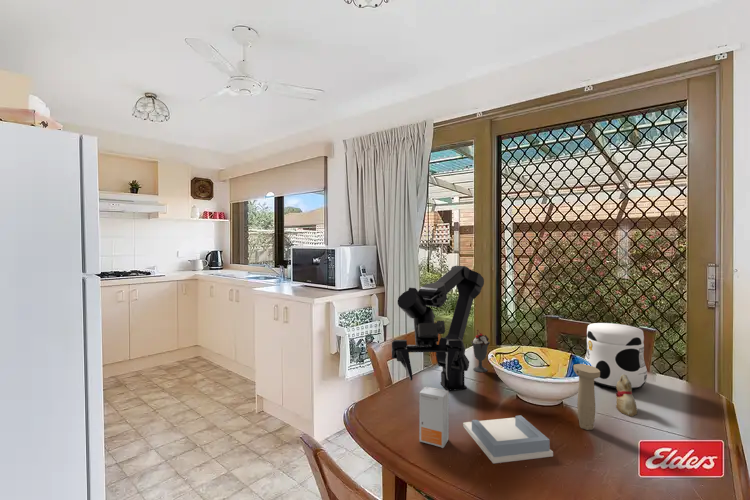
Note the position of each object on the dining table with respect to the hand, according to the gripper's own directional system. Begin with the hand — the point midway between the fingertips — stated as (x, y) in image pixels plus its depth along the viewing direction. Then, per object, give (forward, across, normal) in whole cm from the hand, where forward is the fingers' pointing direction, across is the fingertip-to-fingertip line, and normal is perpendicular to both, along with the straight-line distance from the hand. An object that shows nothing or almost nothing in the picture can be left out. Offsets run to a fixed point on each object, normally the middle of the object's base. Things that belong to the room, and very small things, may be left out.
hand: (429, 379), depth 95 cm
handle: (+9, +39, +9) cm, 41 cm away
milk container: (-11, +63, +29) cm, 70 cm away
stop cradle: (+13, +17, +4) cm, 22 cm away
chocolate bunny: (+2, +55, +15) cm, 57 cm away
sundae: (-20, +24, +38) cm, 49 cm away
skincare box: (+13, 0, +4) cm, 14 cm away
